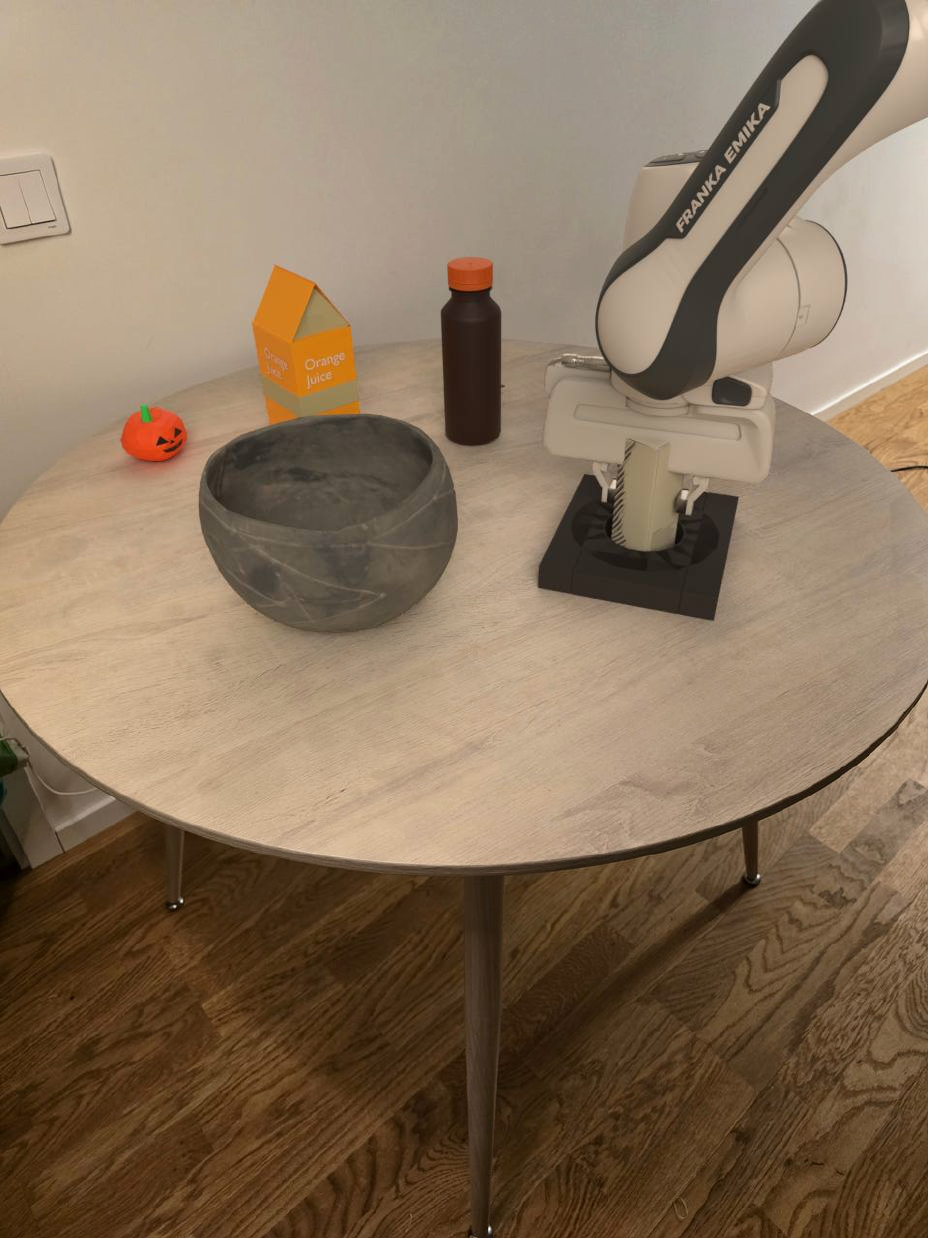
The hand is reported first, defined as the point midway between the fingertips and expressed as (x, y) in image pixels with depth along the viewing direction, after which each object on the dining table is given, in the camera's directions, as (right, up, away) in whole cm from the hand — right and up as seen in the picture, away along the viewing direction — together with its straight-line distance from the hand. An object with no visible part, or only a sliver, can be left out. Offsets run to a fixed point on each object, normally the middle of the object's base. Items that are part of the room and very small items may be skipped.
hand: (647, 506), depth 81 cm
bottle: (-16, +12, +24) cm, 31 cm away
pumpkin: (-54, +9, +21) cm, 58 cm away
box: (0, -4, +3) cm, 5 cm away
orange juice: (-35, +10, +23) cm, 43 cm away
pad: (0, -4, +3) cm, 5 cm away
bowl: (-28, -10, -3) cm, 30 cm away
